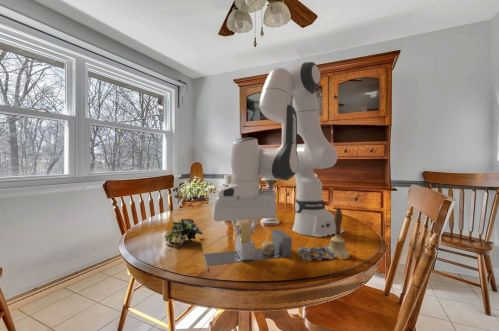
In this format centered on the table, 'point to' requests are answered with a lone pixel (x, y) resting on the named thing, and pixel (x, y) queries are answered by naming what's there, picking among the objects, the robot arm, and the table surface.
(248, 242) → the block
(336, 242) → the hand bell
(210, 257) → the press base
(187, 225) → the passion flower
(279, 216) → the table surface
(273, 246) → the hazelnut
